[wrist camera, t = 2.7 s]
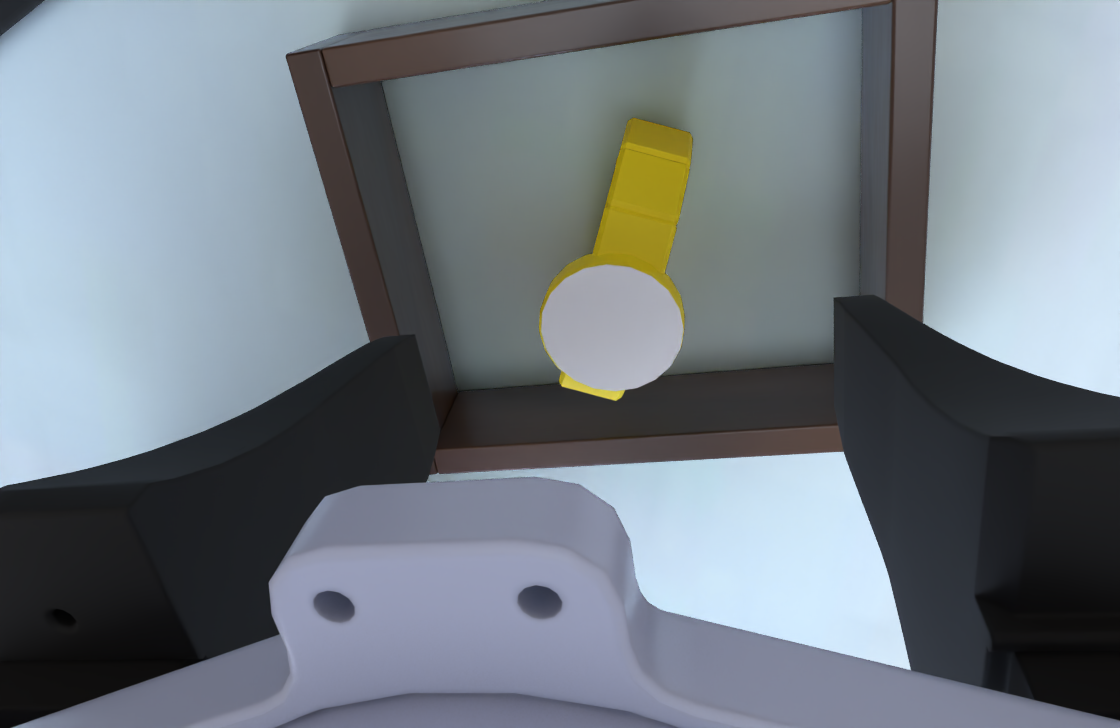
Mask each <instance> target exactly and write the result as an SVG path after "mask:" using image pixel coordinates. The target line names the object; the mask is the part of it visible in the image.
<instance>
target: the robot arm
mask: <svg viewBox="0 0 1120 728" xmlns="http://www.w3.org/2000/svg"><path fill="white" fill-rule="evenodd" d="M834 408H835V413H836V418H837V422H838V427H839V432H840V437H841V441H842V446H843V451H844V454H845V457H846V460H847V462H848V465H849V468H850V471H851V473H852V476H853V479H854V481H855V484H856V487H857V489H858V492H859V495H860V497H861V500H862V503H863V505H864V508H865V511H866V513H867V516H868V518H869V521H870V524H871V526H872V529H873V532H874V534H875V537H876V540H877V542H878V545H879V547H880V550H881V553H882V556H883V559H884V562H885V565H886V568H887V571H888V575H889V578H890V582H891V586H892V591H893V595H894V599H895V603H896V607H897V611H898V615H899V619H900V624H901V628H902V632H903V637H904V641H905V645H906V650H907V654H908V659H909V663H910V667H911V670H907V669H903V668H899V667H895V666H891V665H886V664H882V663H878V662H874V661H870V660H866V659H862V658H857V657H853V656H849V655H845V654H841V653H837V652H832V651H828V650H824V649H820V648H816V647H812V646H808V645H803V644H799V643H795V642H791V641H787V640H783V639H778V638H774V637H770V636H766V635H762V634H758V633H754V632H749V631H745V630H741V629H737V628H733V627H729V626H724V625H720V624H716V623H712V622H708V621H704V620H700V619H695V618H691V617H687V616H683V615H679V614H675V613H670V612H666V611H663V610H660V609H658V608H657V607H655V606H653V605H652V604H650V603H649V602H648V601H647V600H646V599H645V598H644V596H643V595H642V593H641V592H640V589H639V585H638V582H637V579H636V576H635V569H634V563H633V556H632V549H631V543H630V539H629V537H628V535H627V533H626V531H625V529H624V527H623V525H622V523H621V521H620V519H619V517H618V515H617V513H616V511H615V509H614V508H613V507H612V506H610V505H609V504H607V503H606V502H605V501H603V500H602V499H600V498H599V497H597V496H596V495H594V494H593V493H591V492H590V491H588V490H587V489H585V488H584V487H582V486H581V485H579V484H575V483H569V482H563V481H557V480H551V479H545V478H539V477H523V478H503V479H483V480H464V481H444V482H427V479H428V477H429V474H430V471H431V467H432V463H433V460H434V456H435V452H436V448H437V443H438V439H439V435H440V427H439V423H438V419H437V415H436V411H435V408H434V404H433V400H432V396H431V393H430V389H429V385H428V381H427V377H426V374H425V370H424V366H423V362H422V359H421V355H420V351H419V347H418V343H417V340H416V336H415V334H411V335H400V336H388V337H382V338H379V339H377V340H374V341H372V342H370V343H368V344H366V345H364V346H362V347H360V348H358V349H357V350H355V351H353V352H351V353H350V354H348V355H346V356H345V357H343V358H341V359H339V360H338V361H336V362H334V363H333V364H331V365H329V366H328V367H326V368H324V369H323V370H321V371H320V372H318V373H316V374H315V375H313V376H311V377H310V378H308V379H306V380H305V381H303V382H301V383H299V384H297V385H296V386H294V387H292V388H290V389H288V390H287V391H285V392H283V393H281V394H279V395H278V396H276V397H274V398H272V399H271V400H269V401H267V402H265V403H263V404H262V405H260V406H258V407H256V408H254V409H252V410H250V411H248V412H246V413H244V414H242V415H239V416H237V417H235V418H233V419H231V420H228V421H226V422H224V423H222V424H220V425H217V426H215V427H213V428H210V429H208V430H206V431H203V432H201V433H198V434H195V435H193V436H190V437H187V438H184V439H182V440H179V441H176V442H173V443H171V444H168V445H165V446H162V447H160V448H157V449H154V450H151V451H148V452H145V453H142V454H139V455H135V456H132V457H129V458H125V459H122V460H118V461H115V462H111V463H107V464H104V465H100V466H96V467H92V468H88V469H84V470H80V471H76V472H71V473H67V474H62V475H57V476H52V477H47V478H42V479H38V480H33V481H28V482H23V483H18V484H12V485H7V486H4V487H2V488H0V728H1120V397H1116V396H1112V395H1107V394H1102V393H1098V392H1093V391H1090V390H1086V389H1082V388H1078V387H1074V386H1071V385H1067V384H1063V383H1059V382H1056V381H1053V380H1049V379H1046V378H1043V377H1040V376H1037V375H1034V374H1031V373H1028V372H1026V371H1023V370H1020V369H1017V368H1015V367H1012V366H1009V365H1006V364H1004V363H1001V362H999V361H996V360H994V359H992V358H989V357H987V356H985V355H983V354H981V353H978V352H976V351H974V350H972V349H970V348H968V347H966V346H964V345H962V344H960V343H958V342H956V341H954V340H952V339H950V338H948V337H946V336H944V335H943V334H941V333H939V332H937V331H935V330H934V329H932V328H930V327H928V326H927V325H925V324H923V323H922V322H920V321H918V320H917V319H915V318H913V317H912V316H910V315H908V314H907V313H905V312H903V311H902V310H900V309H898V308H897V307H895V306H893V305H892V304H890V303H888V302H887V301H885V300H883V299H882V298H880V297H878V296H875V295H861V296H850V297H838V298H834Z"/></svg>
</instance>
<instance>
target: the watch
mask: <svg viewBox="0 0 1120 728" xmlns="http://www.w3.org/2000/svg"><path fill="white" fill-rule="evenodd" d="M692 145H693V138H692V136H691V134H690V132H686V131H682V130H679V129H675V128H671V127H667V126H664V125H660V124H656V123H652V122H648V121H645V120H641V119H637V118H632V119H630V120H628V122H627V125H626V129H625V133H624V136H623V140H622V144H621V148H620V151H619V155H618V157H617V160H616V166H615V170H614V174H613V178H612V181H611V185H610V189H609V193H608V196H607V200H606V204H605V208H604V211H603V215H602V219H601V223H600V226H599V230H598V234H597V238H596V242H595V245H594V249H593V253H592V254H587V255H584V256H582V257H580V258H579V259H577V260H575V261H573V262H571V263H569V264H568V265H566V266H565V267H564V268H563V269H562V270H561V271H560V272H559V273H558V274H557V276H556V277H555V278H554V279H553V280H552V282H551V284H550V286H549V288H548V290H547V293H546V295H545V297H544V300H543V303H542V306H541V309H540V317H539V333H540V336H541V339H542V343H543V346H544V349H545V351H546V353H547V354H548V356H549V357H550V358H551V360H552V361H553V363H554V364H555V366H556V367H557V368H558V369H560V370H561V374H560V378H559V383H560V384H561V386H562V387H566V388H569V389H573V390H577V391H581V392H584V393H588V394H592V395H596V396H600V397H603V398H607V399H611V400H615V401H616V400H618V399H620V398H621V397H622V396H623V394H624V391H625V390H627V389H634V388H638V387H640V386H643V385H645V384H647V383H649V382H652V381H654V380H656V379H657V378H658V377H659V376H660V375H661V374H663V373H664V372H665V371H666V370H667V369H668V368H669V367H670V366H671V365H672V363H673V362H674V360H675V358H676V356H677V355H678V353H679V351H680V349H681V347H682V341H683V335H684V322H685V314H684V309H683V304H682V299H681V295H680V293H679V292H678V290H677V288H676V287H675V285H674V283H673V282H672V280H671V278H670V277H669V276H668V275H667V274H666V273H665V270H666V266H667V263H668V259H669V255H670V252H671V248H672V244H673V240H674V237H675V233H676V229H677V227H676V225H677V223H678V221H679V217H680V212H681V208H682V203H683V198H684V194H685V189H686V184H687V180H688V175H689V171H690V169H689V167H690V164H691V156H692Z"/></svg>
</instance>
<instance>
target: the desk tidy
mask: <svg viewBox="0 0 1120 728" xmlns="http://www.w3.org/2000/svg"><path fill="white" fill-rule="evenodd" d="M859 8H862V80H861V199H860V296H861V295H875V296H878V297H880V298H882V299H883V300H885V301H887V302H888V303H890V304H892V305H893V306H895V307H897V308H898V309H900V310H902V311H903V312H905V313H907V314H908V315H910V316H912V317H913V318H915V319H917V320H918V321H920V322H922V323H923V309H924V288H925V267H926V246H927V225H928V204H929V183H930V162H931V141H932V119H933V98H934V77H935V56H936V35H937V14H938V0H548V1H542V2H536V3H530V4H523V5H517V6H511V7H505V8H499V9H493V10H487V11H481V12H475V13H469V14H463V15H457V16H451V17H445V18H438V19H432V20H426V21H420V22H414V23H408V24H402V25H396V26H390V27H384V28H378V29H372V30H368V31H359V32H353V33H347V34H341V35H337V36H334V37H332V38H329V39H326V40H323V41H321V42H318V43H315V44H312V45H310V46H307V47H304V48H301V49H299V50H296V51H293V52H290V53H288V54H286V60H287V63H288V66H289V70H290V73H291V77H292V80H293V83H294V87H295V90H296V93H297V97H298V100H299V104H300V107H301V110H302V114H303V117H304V121H305V124H306V127H307V131H308V134H309V137H310V141H311V144H312V148H313V151H314V154H315V158H316V161H317V164H318V168H319V171H320V175H321V178H322V181H323V185H324V188H325V191H326V195H327V198H328V202H329V205H330V208H331V212H332V215H333V219H334V222H335V225H336V229H337V232H338V235H339V239H340V242H341V246H342V249H343V252H344V256H345V259H346V262H347V266H348V269H349V273H350V276H351V279H352V283H353V286H354V290H355V293H356V296H357V300H358V303H359V306H360V310H361V313H362V317H363V320H364V323H365V327H366V330H367V333H368V337H369V340H370V342H372V341H374V340H377V339H379V338H382V337H388V336H400V335H411V334H415V336H416V340H417V343H418V347H419V351H420V355H421V359H422V362H423V366H424V370H425V374H426V377H427V381H428V385H429V389H430V393H431V396H432V400H433V404H434V408H435V411H436V415H437V419H438V423H439V427H440V435H439V439H438V443H437V448H436V452H435V456H434V460H433V463H432V467H431V471H430V474H429V475H432V474H437V473H439V474H450V473H468V472H486V471H503V470H521V469H539V468H557V467H575V466H593V465H611V464H629V463H647V462H665V461H683V460H701V459H718V458H736V457H754V456H772V455H790V454H808V453H826V452H844V451H843V446H842V441H841V437H840V432H839V427H838V422H837V418H836V413H835V408H834V363H833V364H820V365H806V366H793V367H780V368H766V369H753V370H740V371H726V372H713V373H700V374H687V375H673V376H660V377H658V378H657V379H656V380H654V381H652V382H649V383H647V384H645V385H643V386H640V387H638V388H634V389H627V390H625V391H624V394H623V396H622V397H621V398H620V399H618V400H616V401H615V400H611V399H607V398H603V397H600V396H596V395H592V394H588V393H584V392H581V391H577V390H573V389H569V388H566V387H562V386H561V384H553V385H540V386H527V387H514V388H500V389H487V390H474V391H461V392H459V393H458V391H457V387H456V383H455V378H454V374H453V370H452V366H451V362H450V358H449V354H448V350H447V346H446V342H445V338H444V334H443V330H442V326H441V322H440V318H439V314H438V310H437V306H436V302H435V298H434V294H433V290H432V286H431V282H430V278H429V274H428V270H427V266H426V262H425V258H424V254H423V250H422V246H421V242H420V238H419V234H418V230H417V226H416V222H415V218H414V214H413V210H412V206H411V202H410V198H409V194H408V190H407V186H406V182H405V178H404V174H403V170H402V166H401V162H400V158H399V154H398V150H397V146H396V142H395V138H394V133H393V129H392V125H391V121H390V117H389V113H388V109H387V105H386V101H385V97H384V93H383V89H382V85H381V81H385V80H391V79H398V78H404V77H411V76H418V75H424V74H431V73H437V72H444V71H450V70H457V69H464V68H470V67H477V66H483V65H490V64H497V63H503V62H510V61H516V60H523V59H530V58H536V57H543V56H549V55H556V54H562V53H569V52H576V51H582V50H589V49H595V48H602V47H609V46H615V45H622V44H628V43H635V42H641V41H648V40H655V39H661V38H668V37H674V36H681V35H688V34H694V33H701V32H707V31H714V30H721V29H727V28H734V27H740V26H747V25H753V24H760V23H767V22H773V21H780V20H786V19H793V18H800V17H806V16H813V15H819V14H826V13H832V12H839V11H846V10H852V9H859Z"/></svg>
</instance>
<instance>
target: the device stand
mask: <svg viewBox="0 0 1120 728" xmlns="http://www.w3.org/2000/svg"><path fill="white" fill-rule="evenodd" d="M43 1H44V0H0V36H1V35H2V34H3V33H5V32H6V31H7V30H8V29H10V28H11V27H12V26H13V25H14V24H16V23H17V22H18V21H19V20H21V19H22V18H23V17H24V16H26V15H27V14H28V13H29V12H31V11H32V10H33V9H34V8H36V7H37V6H38V5H39V4H41V3H42V2H43Z"/></svg>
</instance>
